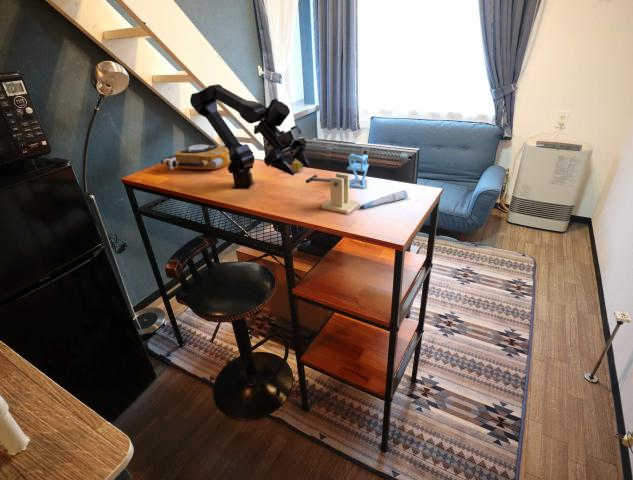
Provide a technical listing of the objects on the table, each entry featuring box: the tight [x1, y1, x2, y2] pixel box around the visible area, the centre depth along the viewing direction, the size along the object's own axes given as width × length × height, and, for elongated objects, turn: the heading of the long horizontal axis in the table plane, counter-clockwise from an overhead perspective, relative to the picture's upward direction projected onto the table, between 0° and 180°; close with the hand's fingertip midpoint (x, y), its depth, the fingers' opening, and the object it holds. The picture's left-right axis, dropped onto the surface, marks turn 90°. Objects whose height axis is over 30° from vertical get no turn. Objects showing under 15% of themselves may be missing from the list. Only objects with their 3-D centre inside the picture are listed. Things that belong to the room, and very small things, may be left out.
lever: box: [305, 174, 345, 185], centre depth 114 cm, size 13×6×2 cm, turn 58°
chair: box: [346, 153, 370, 189], centre depth 131 cm, size 8×8×12 cm
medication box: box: [291, 158, 304, 173], centre depth 152 cm, size 12×3×4 cm, turn 171°
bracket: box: [320, 172, 359, 215], centre depth 114 cm, size 10×8×11 cm
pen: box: [358, 189, 409, 209], centre depth 116 cm, size 19×3×3 cm, turn 118°
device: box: [160, 144, 231, 170], centre depth 158 cm, size 23×8×30 cm
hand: (301, 170), depth 118 cm, fingers open, 9 cm apart
